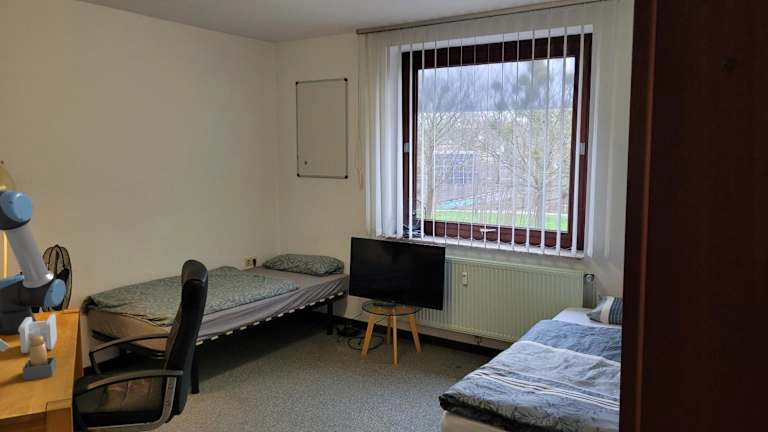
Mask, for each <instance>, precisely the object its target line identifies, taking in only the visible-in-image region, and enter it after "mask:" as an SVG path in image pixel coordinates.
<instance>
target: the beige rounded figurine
mask: <svg viewBox="0 0 768 432" xmlns="http://www.w3.org/2000/svg"><path fill="white" fill-rule="evenodd" d="M30 341H31V344H30V345H29V351H28V353H29V360H30V363H31V367H36V366H45V365H48V361H47V358H48V354H47V353H48V351H47V350H48V349H47V346H46V342H44V339H43V336H42V335H38V336H33V337H31V338H30Z"/></svg>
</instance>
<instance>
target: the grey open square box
mask: <svg viewBox="0 0 768 432" xmlns="http://www.w3.org/2000/svg"><path fill="white" fill-rule="evenodd" d="M47 361H48V365H45V366H36V367H31V363H30V359H27V361H26V363H25V364H24V366H23V367H22V377H23V381H27V380H36V379H43V378H50V377H53V375H54V373H55V372H56V369H57V363H56V361H57V360H56V356H52V357H51V356H50V357H47Z"/></svg>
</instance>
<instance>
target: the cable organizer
mask: <svg viewBox="0 0 768 432" xmlns="http://www.w3.org/2000/svg"><path fill="white" fill-rule="evenodd" d="M18 332H20V334H19V339H20V340H19V341H20V351H21V353H22V354H28V353H29V345H30V344H31V341H30V338H31V337H33V336H38V335H42V336H43V339H44V342H46V350H49V351H52V350H53V349H54V346H55V344H56V343H57V339H58V332H57V318H56V314H55V313H51V314H49V316H48V318H47V319H46V320H40V321H39V320H38V321H37V320H36V322H33V321H32V317H26V318H25V319H24V321H23V322H22V324H21V325H20V326H19V329H18Z"/></svg>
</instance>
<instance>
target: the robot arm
mask: <svg viewBox="0 0 768 432" xmlns="http://www.w3.org/2000/svg"><path fill="white" fill-rule="evenodd" d="M33 209H34V205H33V201H32V200H31V198H30V197H29V196H28V195H27V194H26V193H25V192H21V191H15V190H0V232H3V233H4V234H5V236H6V239H7V242H8V244H9V246H10V248H11V250H12V252H13V255H14V256H15V259H16V262H17V264H18V266H19V268H20V270H21V272H22V274H18V275H12V276H8V277H7V276H6V277H4V278H0V336H13V335H20V332H18V329H19V326H20V325H21V324H22V322H23V321H24V319H25V318H26V317H32V321H33V322H37V319H36V318H35V316H34V314H33V312H32V307H34V308H35V307H36V308H53V307H57V306H59V305H60V304H61V303H62V302H63V299H64V298H65V294H66V290H67V289H66V284H65V281H64V280H62V279H60V278H56V276H55V274H54V272H53V271H51V270H50V269H49V270H48V268H47V266H46V262H45V261H44V258H43V256H42V254H41V251H40V249H39V246H38V243H37V242H36V239H35V236H34V234H33V232H32V230H31V227H30V225H29V224H30V223H31V219H32V217H33V214H34V210H33ZM9 346H10V344H8V343H7V342H6V341H4V340H2V339H1V338H0V351H1V352H2V353H4V352H5V351H6V350H7V349H8V348H9Z"/></svg>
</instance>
